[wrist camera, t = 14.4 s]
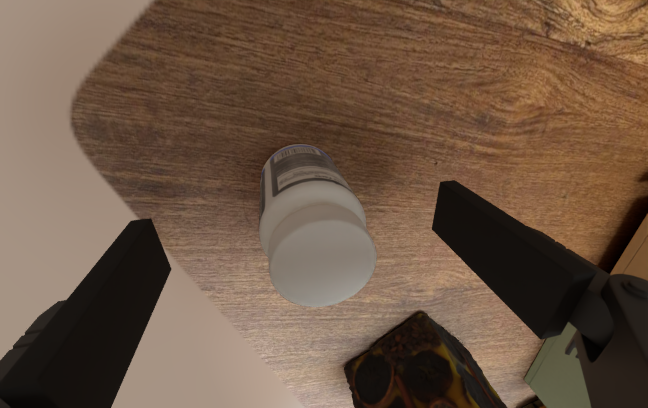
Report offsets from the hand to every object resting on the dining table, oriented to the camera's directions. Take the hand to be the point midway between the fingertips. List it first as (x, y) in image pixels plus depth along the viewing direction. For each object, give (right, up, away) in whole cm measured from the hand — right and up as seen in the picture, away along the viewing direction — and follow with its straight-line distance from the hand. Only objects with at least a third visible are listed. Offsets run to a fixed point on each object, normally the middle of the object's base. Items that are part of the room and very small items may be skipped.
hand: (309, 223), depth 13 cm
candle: (+9, -15, +16) cm, 24 cm away
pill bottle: (-1, +3, +4) cm, 5 cm away
